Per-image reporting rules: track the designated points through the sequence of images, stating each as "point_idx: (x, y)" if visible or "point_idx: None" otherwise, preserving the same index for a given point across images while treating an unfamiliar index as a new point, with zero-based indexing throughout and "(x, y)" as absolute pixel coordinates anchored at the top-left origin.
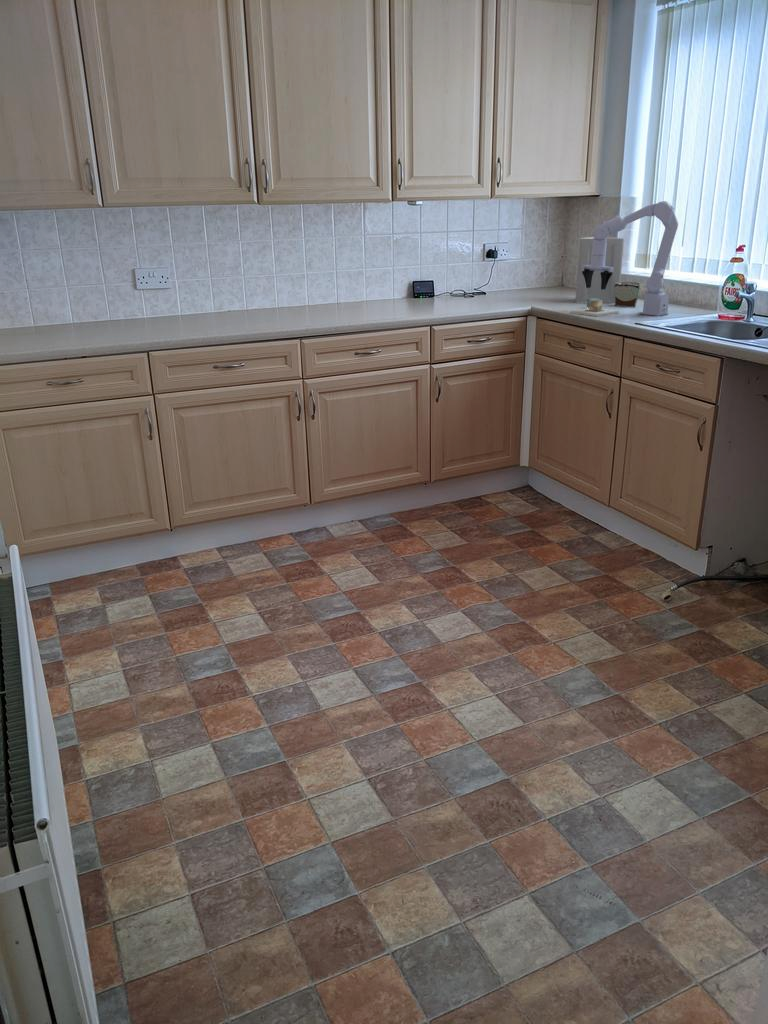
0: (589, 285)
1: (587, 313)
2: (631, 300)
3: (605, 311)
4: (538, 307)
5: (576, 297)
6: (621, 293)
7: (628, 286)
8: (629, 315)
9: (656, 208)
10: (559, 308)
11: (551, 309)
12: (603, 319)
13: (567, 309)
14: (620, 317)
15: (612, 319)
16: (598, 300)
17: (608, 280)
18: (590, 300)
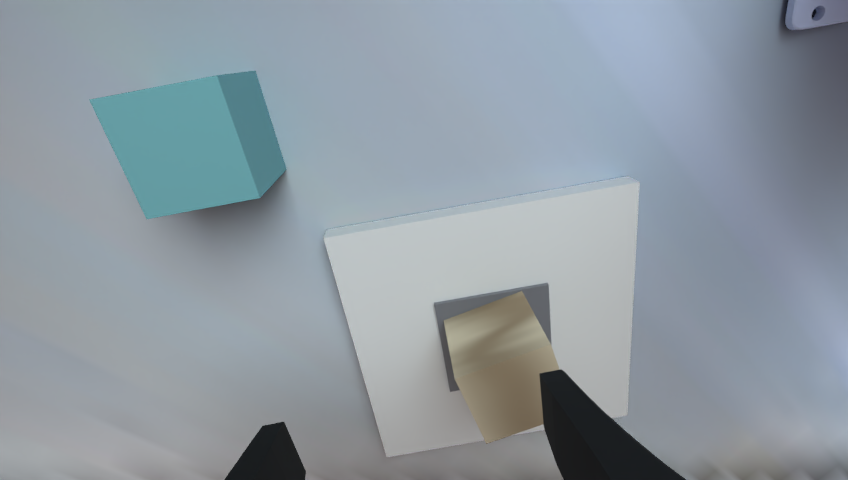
0: (285, 475)
1: (534, 427)
2: None
3: (578, 296)
4: (24, 467)
5: None
6: None
7: None
8: (759, 177)
9: None
10: (130, 383)
11: (164, 450)
12: (710, 432)
13: (210, 367)
14: (753, 304)
15: (753, 394)
16: (531, 378)
17: (673, 470)
18: (482, 430)
